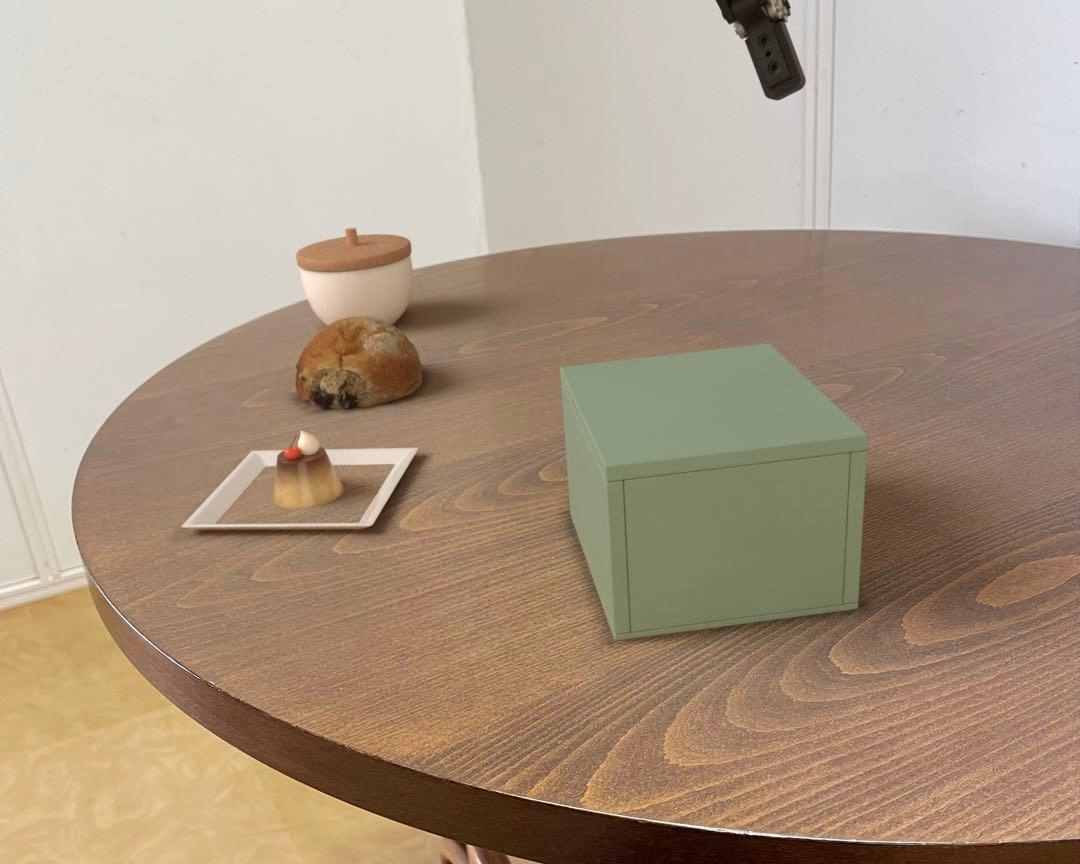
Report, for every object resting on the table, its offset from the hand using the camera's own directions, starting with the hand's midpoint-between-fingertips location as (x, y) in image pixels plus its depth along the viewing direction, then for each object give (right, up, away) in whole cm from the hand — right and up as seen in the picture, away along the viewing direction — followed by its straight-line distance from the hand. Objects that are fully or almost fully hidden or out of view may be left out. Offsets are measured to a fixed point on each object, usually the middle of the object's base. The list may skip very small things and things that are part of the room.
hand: (787, 93), depth 65 cm
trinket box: (-31, -6, +43) cm, 54 cm away
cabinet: (-6, -27, -4) cm, 28 cm away
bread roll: (-29, -14, +26) cm, 41 cm away
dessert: (-29, -24, +8) cm, 38 cm away
